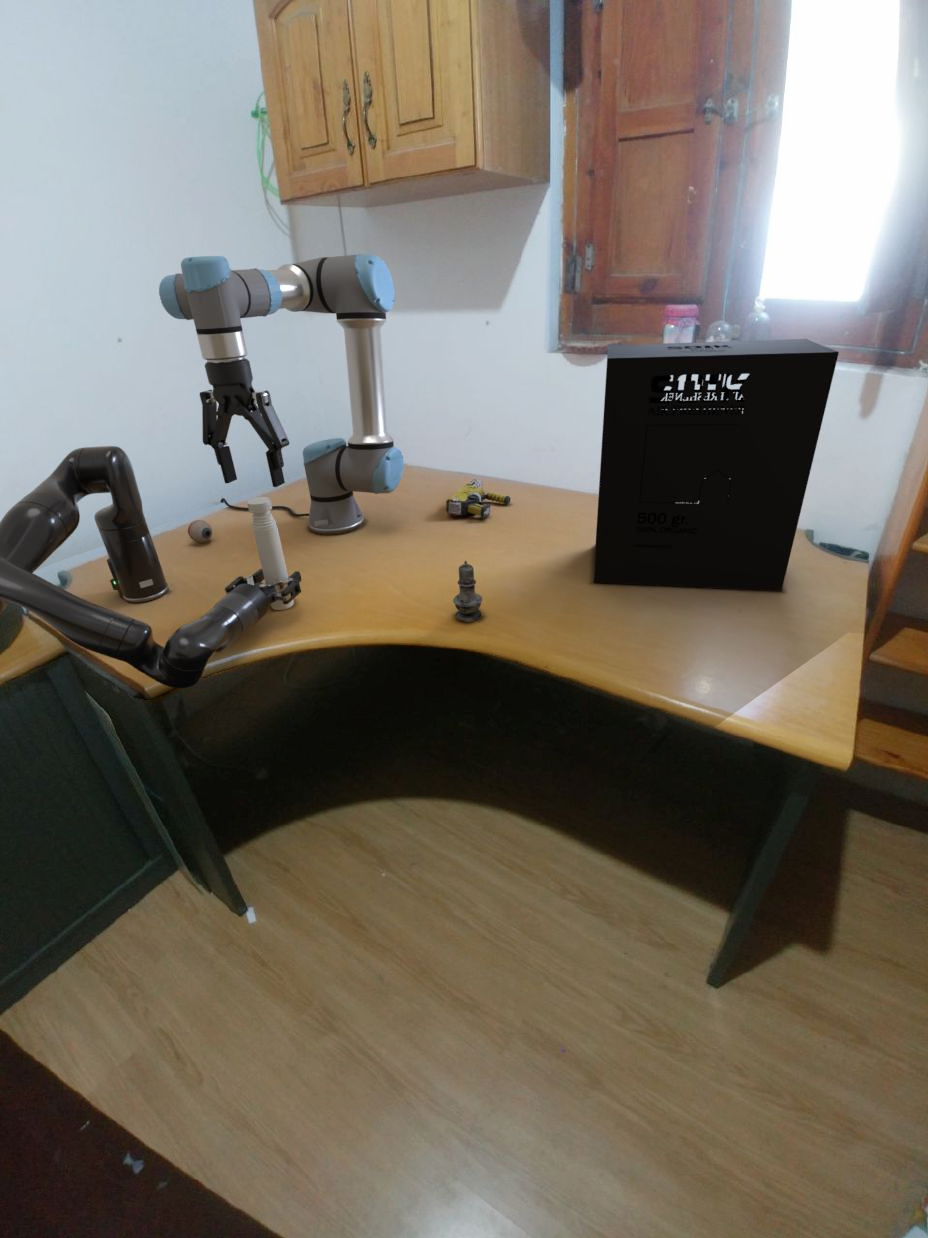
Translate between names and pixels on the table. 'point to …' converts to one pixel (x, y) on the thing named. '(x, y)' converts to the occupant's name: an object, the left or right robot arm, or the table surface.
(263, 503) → the cap
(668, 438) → the cardboard box
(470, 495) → the toy gun
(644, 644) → the table surface
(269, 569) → the bottle
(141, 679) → the table surface
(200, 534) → the eyeball
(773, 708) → the table surface
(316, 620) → the table surface
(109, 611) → the left robot arm
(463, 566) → the grey tall ringed piece
